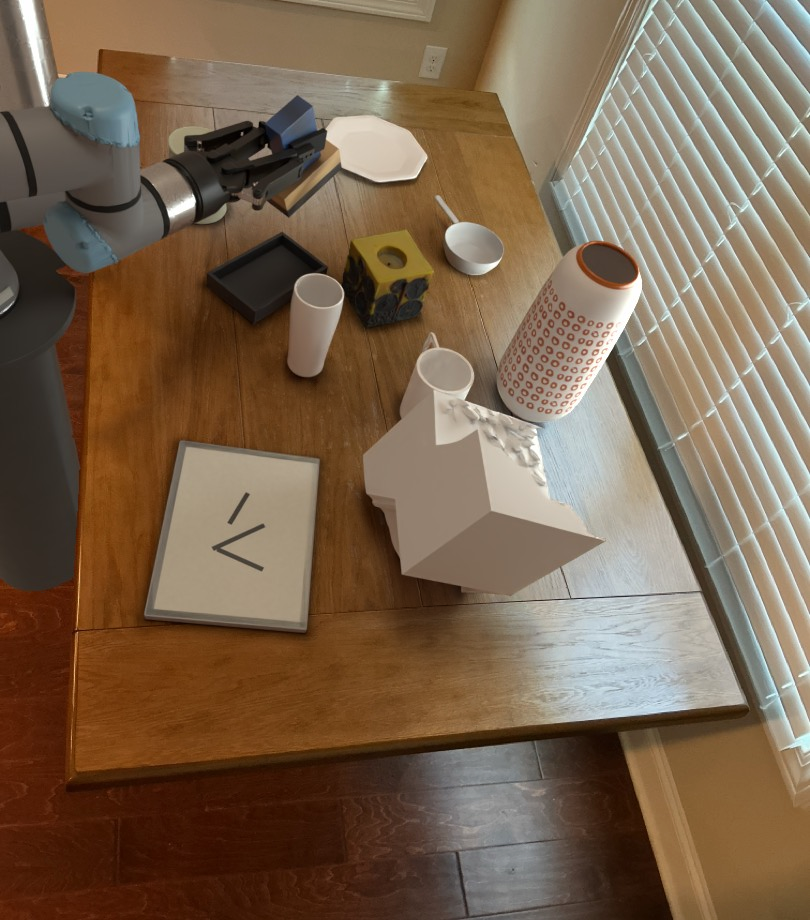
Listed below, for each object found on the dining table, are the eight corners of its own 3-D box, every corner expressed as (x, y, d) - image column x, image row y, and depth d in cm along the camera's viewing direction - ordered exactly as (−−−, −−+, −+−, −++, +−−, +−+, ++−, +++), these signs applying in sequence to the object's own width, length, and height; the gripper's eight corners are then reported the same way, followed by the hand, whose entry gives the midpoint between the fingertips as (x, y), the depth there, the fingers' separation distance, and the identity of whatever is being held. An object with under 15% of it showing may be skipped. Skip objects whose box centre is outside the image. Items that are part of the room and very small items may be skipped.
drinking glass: (289, 386, 108) (302, 311, 96) (276, 350, 111) (287, 274, 99) (333, 379, 110) (352, 306, 98) (319, 345, 113) (335, 270, 101)
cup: (439, 372, 116) (457, 327, 108) (459, 435, 110) (481, 392, 102) (388, 373, 113) (404, 327, 105) (406, 438, 107) (424, 394, 99)
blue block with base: (288, 218, 105) (272, 152, 92) (263, 198, 106) (243, 131, 93) (341, 168, 107) (333, 98, 95) (316, 150, 108) (304, 78, 96)
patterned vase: (475, 371, 118) (543, 228, 96) (547, 363, 123) (628, 225, 100) (507, 440, 112) (589, 303, 89) (582, 428, 117) (677, 296, 94)
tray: (253, 324, 113) (255, 311, 111) (206, 285, 115) (206, 272, 113) (326, 278, 122) (328, 266, 120) (280, 243, 124) (282, 231, 122)
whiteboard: (143, 619, 84) (143, 615, 83) (180, 444, 98) (180, 439, 97) (305, 633, 88) (306, 629, 87) (318, 462, 102) (319, 458, 101)
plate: (343, 110, 150) (344, 103, 149) (434, 148, 150) (436, 141, 149) (305, 159, 138) (306, 152, 137) (404, 200, 138) (406, 193, 137)
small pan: (461, 285, 129) (468, 268, 126) (406, 217, 136) (412, 200, 133) (508, 272, 134) (516, 255, 131) (454, 207, 141) (460, 190, 138)
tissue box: (349, 460, 100) (463, 348, 83) (446, 486, 108) (567, 390, 91) (357, 604, 89) (490, 510, 72) (464, 622, 97) (606, 541, 80)
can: (158, 210, 121) (155, 144, 112) (185, 180, 127) (185, 115, 117) (210, 232, 122) (213, 167, 112) (235, 201, 127) (240, 138, 117)
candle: (392, 275, 126) (406, 227, 118) (421, 317, 122) (437, 271, 114) (338, 285, 122) (349, 236, 114) (365, 330, 117) (379, 282, 109)
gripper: (132, 183, 92) (269, 125, 105) (223, 256, 89) (353, 187, 102) (128, 128, 86) (274, 74, 99) (226, 204, 83) (363, 137, 96)
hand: (313, 131), depth 101 cm, fingers closed on blue block with base, 3 cm apart
